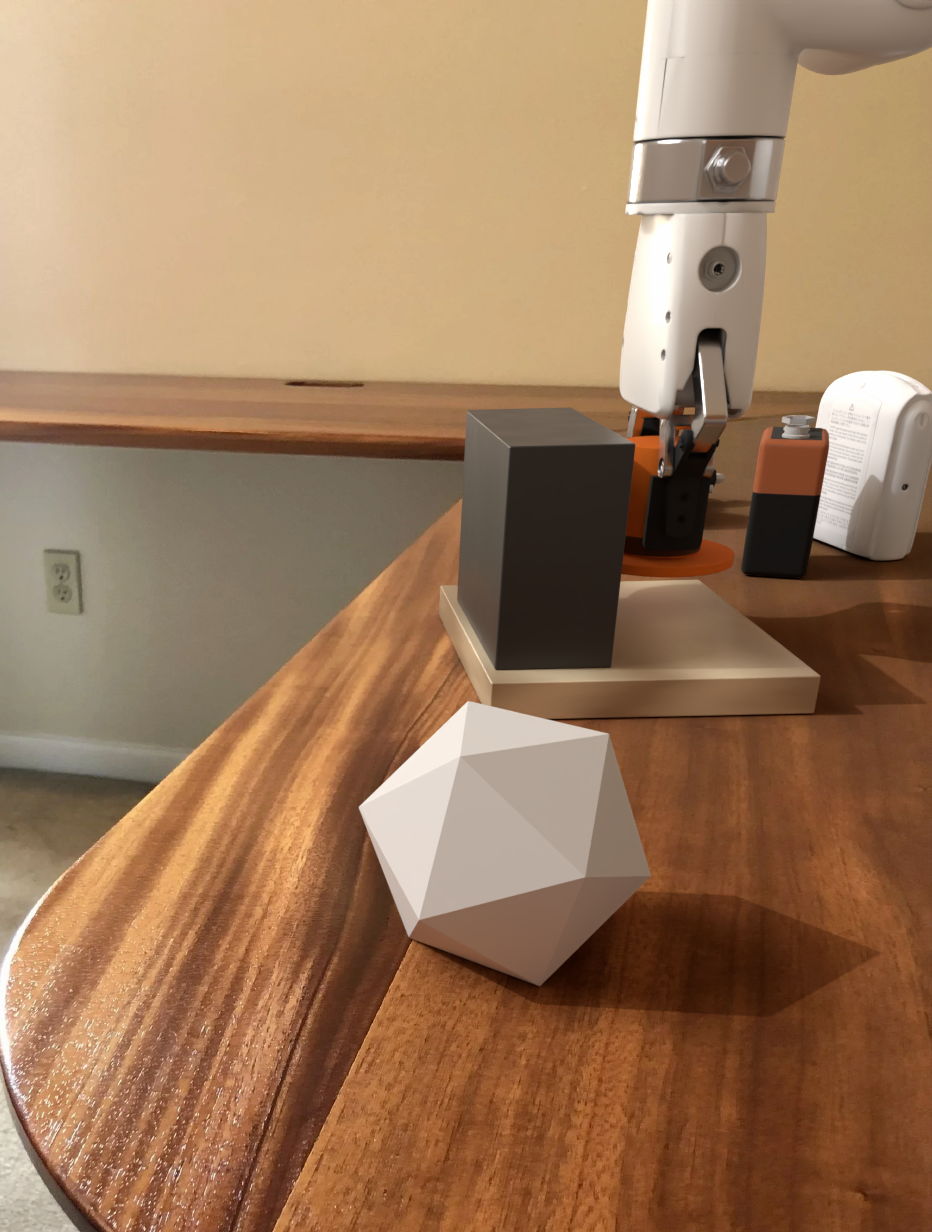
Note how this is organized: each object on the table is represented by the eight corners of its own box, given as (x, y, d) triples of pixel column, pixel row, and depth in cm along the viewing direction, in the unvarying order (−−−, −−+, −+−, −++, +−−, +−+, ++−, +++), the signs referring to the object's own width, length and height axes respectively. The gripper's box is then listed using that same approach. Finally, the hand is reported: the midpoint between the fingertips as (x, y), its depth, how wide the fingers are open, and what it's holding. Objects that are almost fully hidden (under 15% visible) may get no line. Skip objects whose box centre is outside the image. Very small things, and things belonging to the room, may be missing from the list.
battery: (807, 558, 95) (832, 414, 90) (805, 580, 89) (832, 427, 85) (744, 555, 96) (766, 412, 92) (739, 576, 91) (762, 425, 86)
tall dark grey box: (557, 598, 79) (574, 406, 74) (614, 667, 66) (639, 443, 61) (456, 600, 79) (466, 409, 74) (494, 670, 66) (509, 446, 61)
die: (677, 958, 46) (605, 690, 47) (661, 953, 37) (575, 627, 39) (446, 1011, 48) (385, 757, 50) (382, 1018, 40) (311, 712, 41)
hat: (705, 541, 80) (721, 429, 77) (755, 576, 72) (776, 452, 69) (560, 543, 80) (571, 431, 77) (594, 578, 72) (607, 455, 69)
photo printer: (920, 559, 94) (960, 376, 88) (867, 563, 93) (903, 379, 88) (837, 531, 103) (868, 363, 97) (787, 534, 102) (816, 365, 96)
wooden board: (694, 610, 83) (699, 579, 82) (814, 713, 66) (821, 675, 65) (438, 616, 83) (440, 585, 82) (488, 720, 66) (491, 682, 65)
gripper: (840, 176, 60) (772, 571, 68) (721, 186, 75) (678, 508, 83) (678, 178, 60) (630, 573, 68) (592, 188, 75) (561, 510, 83)
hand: (656, 534), depth 76 cm, fingers closed on hat, 5 cm apart
